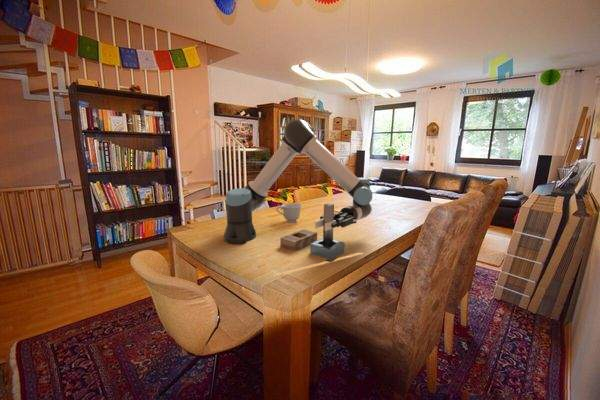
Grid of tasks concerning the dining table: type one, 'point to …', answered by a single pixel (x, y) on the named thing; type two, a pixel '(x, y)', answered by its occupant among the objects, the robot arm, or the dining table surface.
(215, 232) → the dining table surface
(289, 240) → the brown rectangular block
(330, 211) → the grey brown square post
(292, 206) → the teacup
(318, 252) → the socket block
